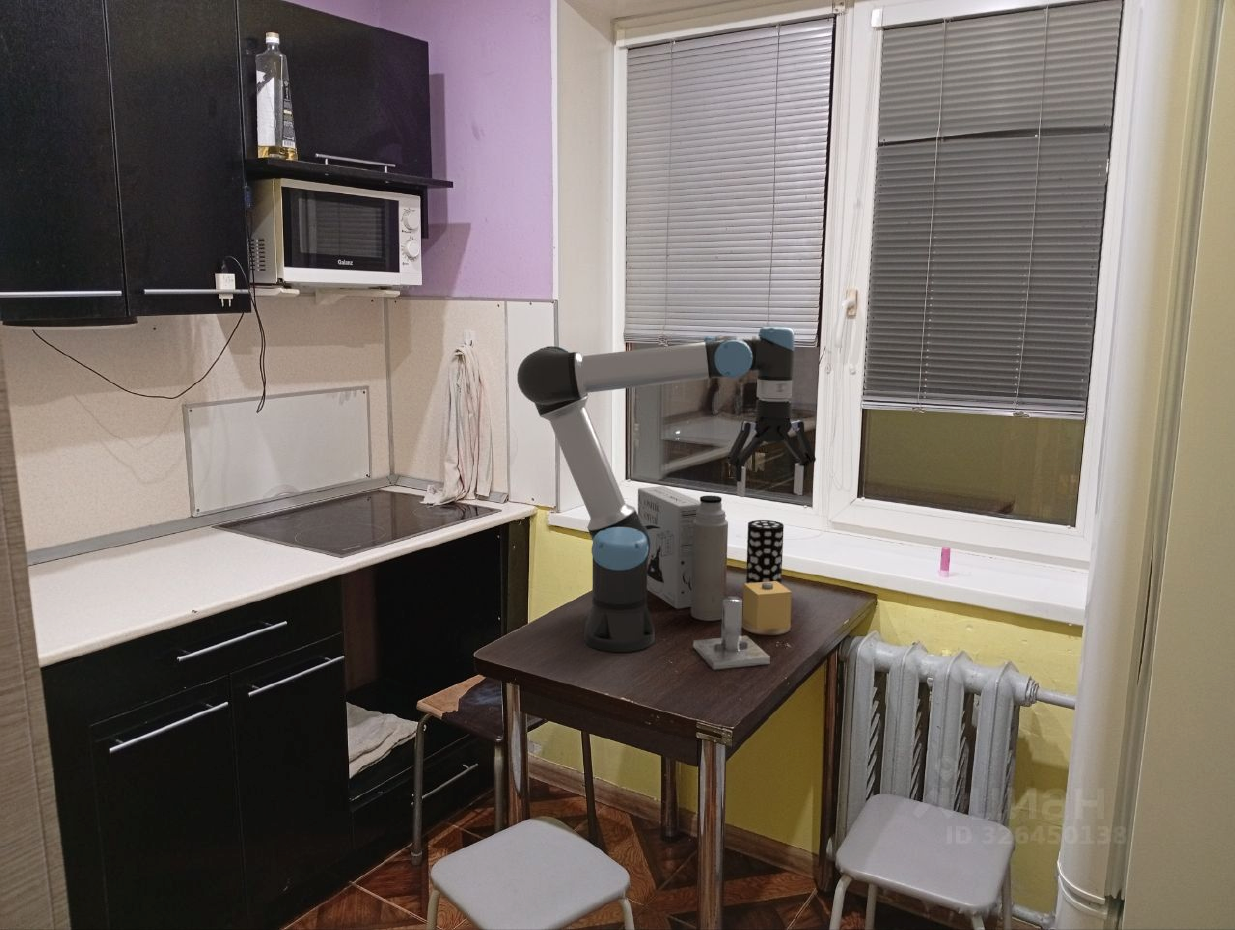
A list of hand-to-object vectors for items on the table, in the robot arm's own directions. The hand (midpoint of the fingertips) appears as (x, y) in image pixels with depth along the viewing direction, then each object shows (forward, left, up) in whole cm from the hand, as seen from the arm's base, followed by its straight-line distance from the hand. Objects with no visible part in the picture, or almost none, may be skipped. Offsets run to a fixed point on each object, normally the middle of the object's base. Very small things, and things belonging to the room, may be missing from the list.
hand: (769, 495), depth 203 cm
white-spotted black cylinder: (+4, +11, -30) cm, 32 cm away
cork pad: (-1, -2, -30) cm, 30 cm away
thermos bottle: (-11, +8, -30) cm, 33 cm away
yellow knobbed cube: (-1, -2, -29) cm, 29 cm away
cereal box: (-15, +24, -30) cm, 41 cm away
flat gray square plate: (-15, -16, -30) cm, 37 cm away
